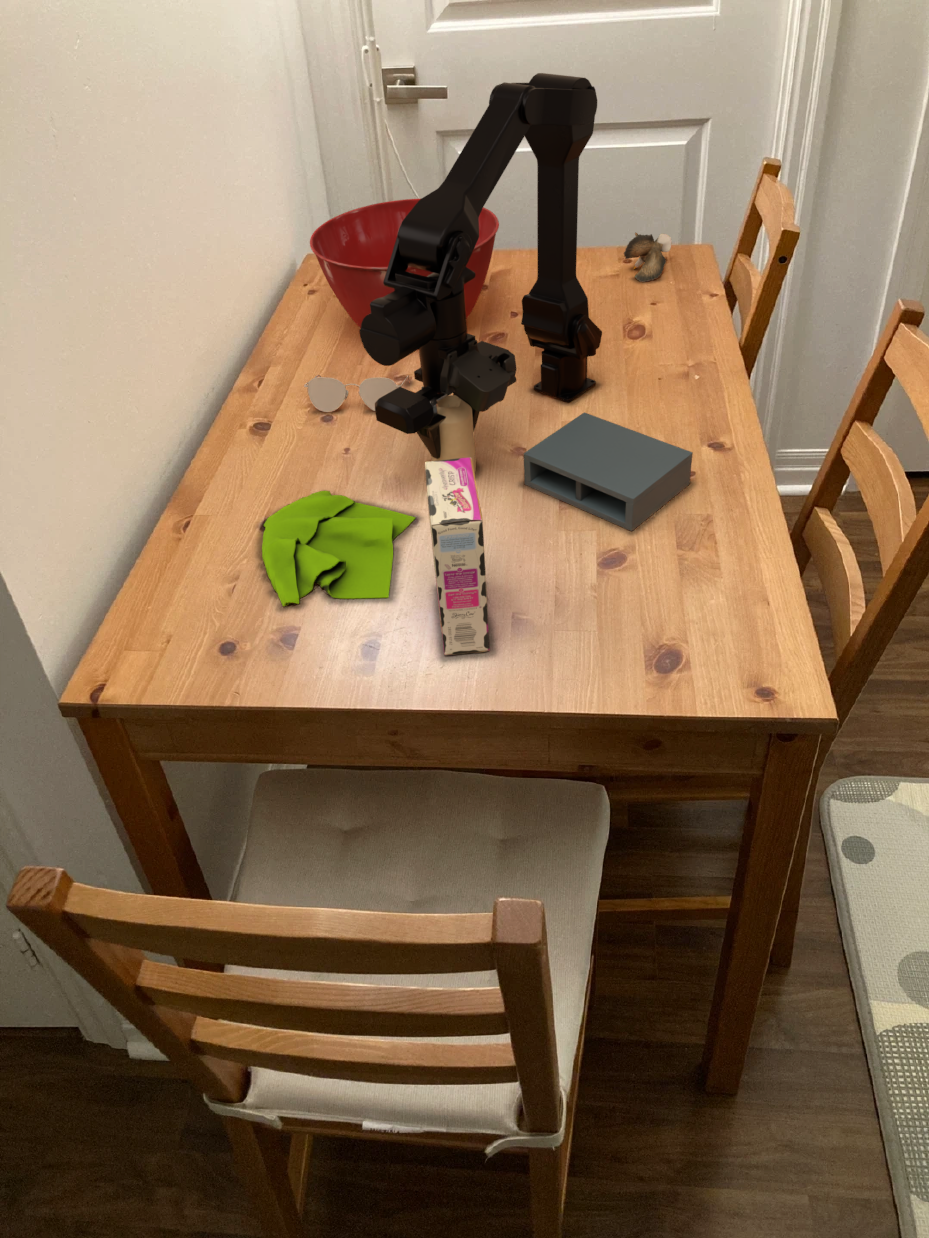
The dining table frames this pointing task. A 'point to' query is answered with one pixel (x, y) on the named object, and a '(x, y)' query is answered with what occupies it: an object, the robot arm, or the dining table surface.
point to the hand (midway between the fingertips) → (452, 447)
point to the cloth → (331, 547)
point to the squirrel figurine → (648, 255)
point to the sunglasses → (333, 392)
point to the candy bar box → (458, 555)
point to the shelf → (608, 470)
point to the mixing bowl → (383, 254)
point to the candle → (456, 430)
